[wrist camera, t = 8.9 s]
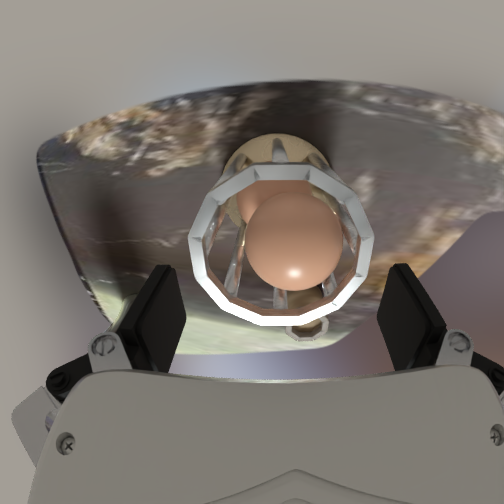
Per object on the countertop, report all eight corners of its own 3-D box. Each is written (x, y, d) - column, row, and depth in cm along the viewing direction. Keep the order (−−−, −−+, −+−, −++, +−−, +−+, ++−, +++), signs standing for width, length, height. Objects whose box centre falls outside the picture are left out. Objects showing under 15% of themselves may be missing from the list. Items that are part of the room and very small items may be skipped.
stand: (323, 282, 30) (330, 310, 25) (320, 311, 32) (325, 340, 28) (285, 282, 30) (286, 311, 26) (284, 312, 32) (285, 341, 28)
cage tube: (334, 134, 22) (391, 160, 11) (328, 237, 27) (360, 327, 16) (218, 135, 23) (167, 161, 12) (227, 238, 28) (198, 327, 17)
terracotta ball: (315, 165, 17) (376, 226, 13) (301, 229, 21) (345, 287, 18) (228, 184, 15) (279, 263, 12) (230, 252, 20) (268, 322, 16)
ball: (311, 158, 22) (314, 164, 17) (310, 224, 25) (311, 249, 19) (244, 158, 23) (225, 164, 18) (246, 221, 26) (229, 245, 20)
